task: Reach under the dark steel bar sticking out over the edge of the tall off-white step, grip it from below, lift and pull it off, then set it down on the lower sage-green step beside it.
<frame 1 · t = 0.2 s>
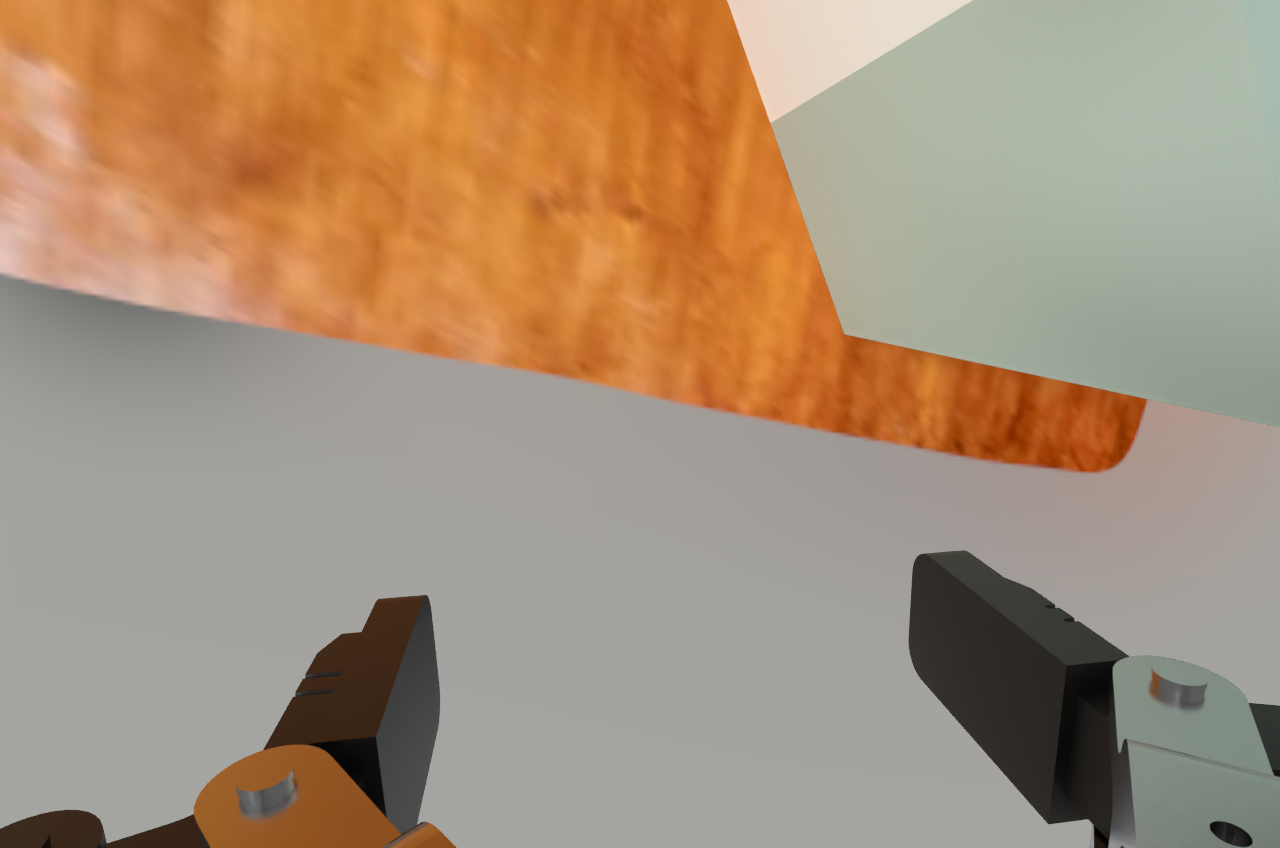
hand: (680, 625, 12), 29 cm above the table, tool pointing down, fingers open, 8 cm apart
stepped stand: (739, 35, 38), on the table
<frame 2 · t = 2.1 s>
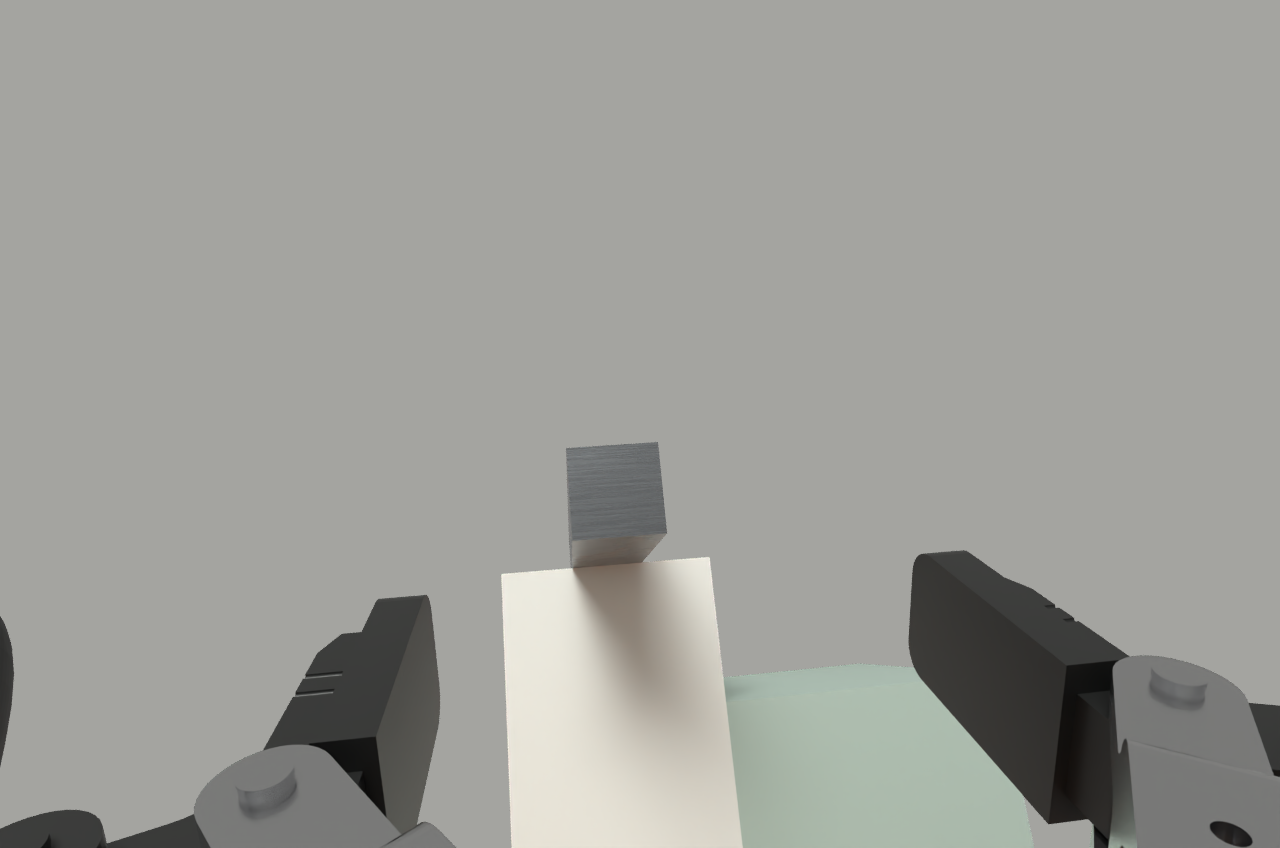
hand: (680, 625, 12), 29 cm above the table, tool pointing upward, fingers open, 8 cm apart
steel bar: (605, 569, 34), point 32 cm above the table, touching stepped stand
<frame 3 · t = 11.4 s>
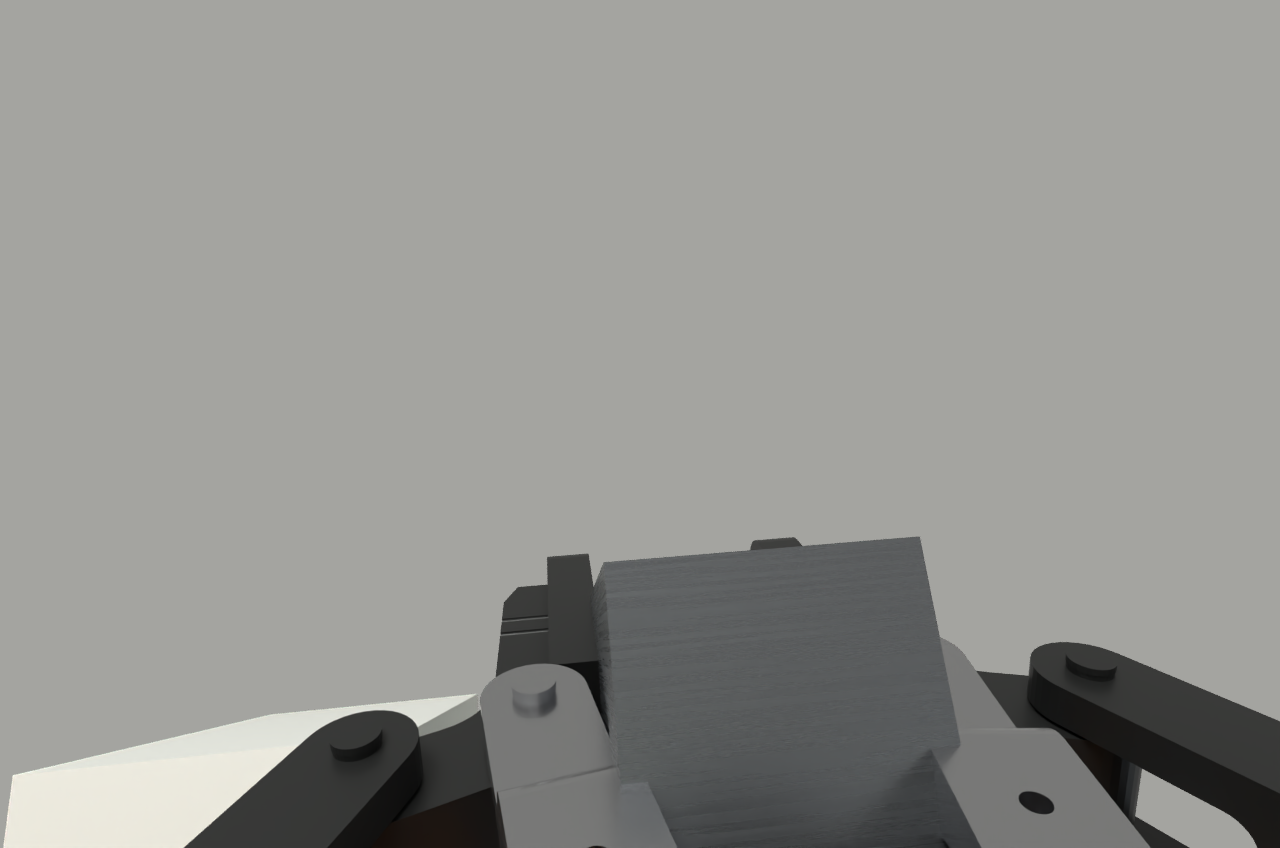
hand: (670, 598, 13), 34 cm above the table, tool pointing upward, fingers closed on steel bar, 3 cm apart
steel bar: (658, 749, 16), point 31 cm above the table, touching gripper
when the fingers open (30 cm above the table, at t = 13.1 s): steel bar drops 1 cm, resting on stepped stand.
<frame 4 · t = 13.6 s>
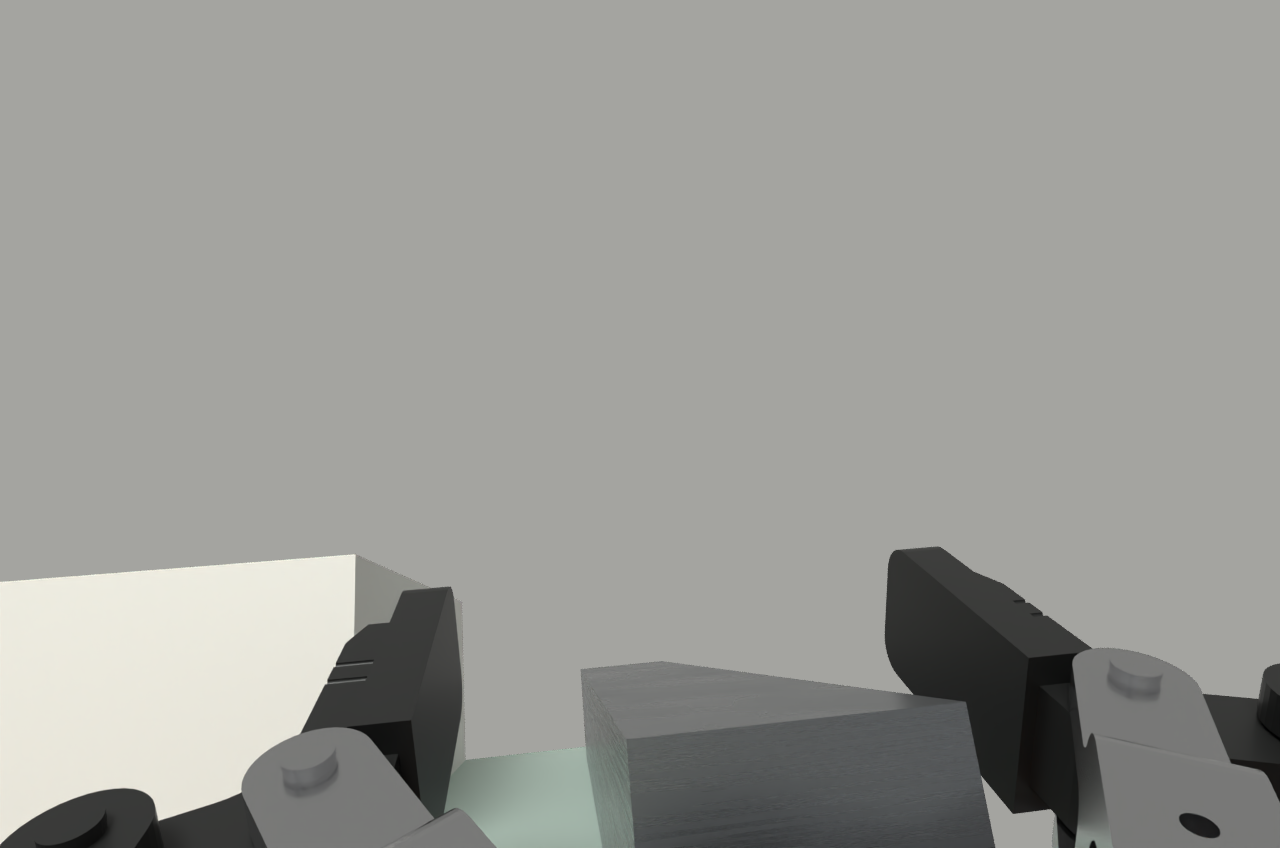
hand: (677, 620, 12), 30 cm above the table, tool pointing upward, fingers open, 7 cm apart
steel bar: (668, 821, 16), point 26 cm above the table, touching stepped stand
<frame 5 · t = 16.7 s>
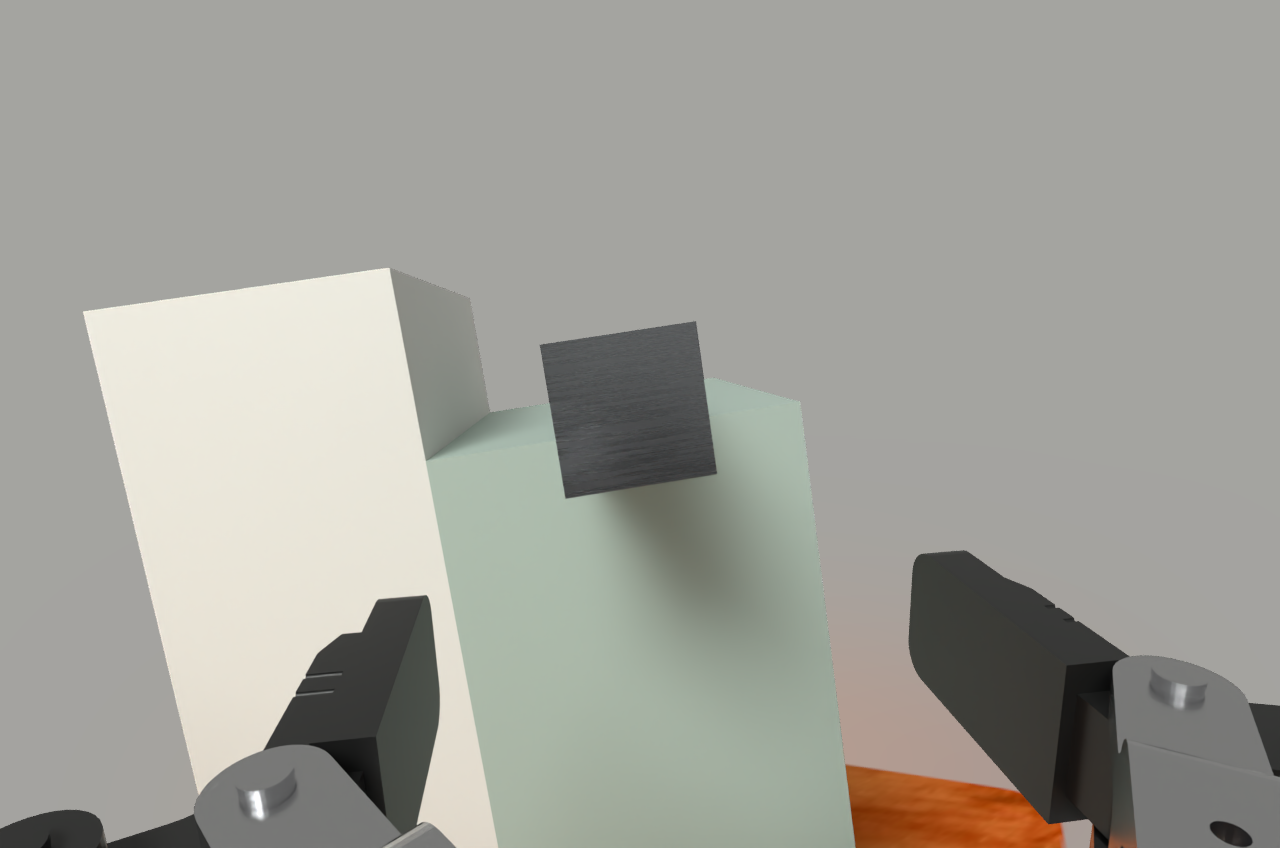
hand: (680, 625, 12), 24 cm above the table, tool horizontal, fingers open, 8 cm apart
steel bar: (616, 424, 25), point 26 cm above the table, touching stepped stand
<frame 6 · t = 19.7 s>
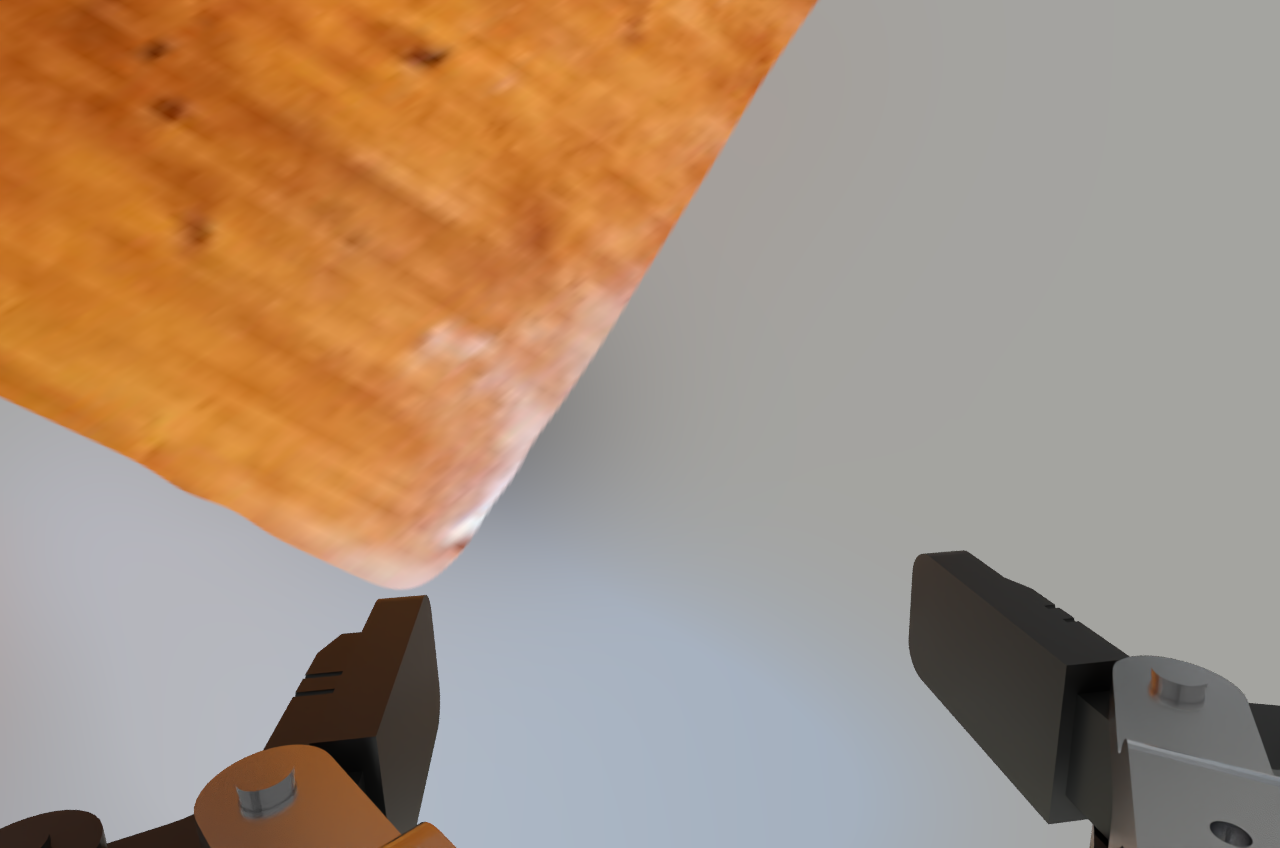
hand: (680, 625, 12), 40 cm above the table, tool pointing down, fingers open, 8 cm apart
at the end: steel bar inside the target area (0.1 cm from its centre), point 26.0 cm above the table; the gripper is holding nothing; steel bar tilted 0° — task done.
